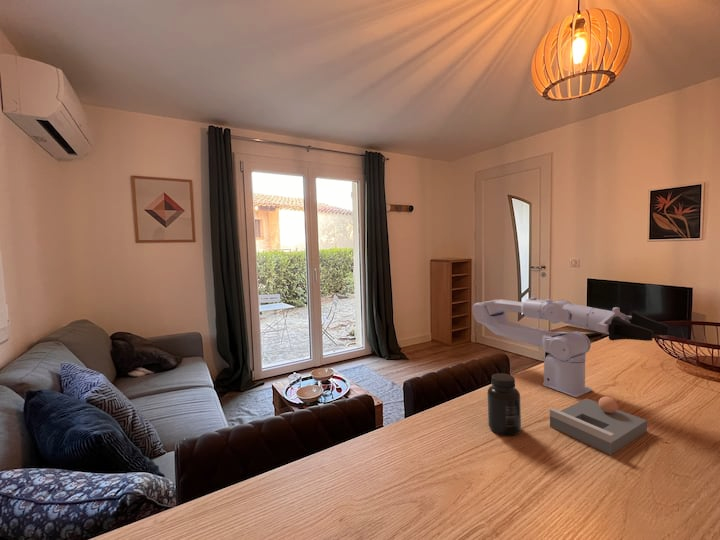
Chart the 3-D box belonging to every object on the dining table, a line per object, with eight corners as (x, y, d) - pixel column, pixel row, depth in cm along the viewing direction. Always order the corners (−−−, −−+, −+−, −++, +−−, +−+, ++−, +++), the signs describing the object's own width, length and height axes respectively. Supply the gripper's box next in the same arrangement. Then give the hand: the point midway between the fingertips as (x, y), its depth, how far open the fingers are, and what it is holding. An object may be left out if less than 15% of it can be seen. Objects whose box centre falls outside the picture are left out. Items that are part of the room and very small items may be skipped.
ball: (595, 411, 75) (595, 396, 75) (603, 406, 77) (603, 392, 76) (612, 417, 72) (613, 402, 72) (620, 413, 74) (621, 398, 73)
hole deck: (549, 426, 74) (549, 409, 74) (586, 408, 81) (586, 392, 81) (610, 455, 64) (610, 435, 63) (646, 431, 71) (647, 413, 70)
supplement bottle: (520, 423, 76) (520, 373, 75) (521, 439, 70) (520, 385, 69) (488, 418, 79) (488, 369, 78) (487, 433, 73) (486, 381, 72)
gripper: (578, 306, 81) (646, 320, 69) (610, 300, 87) (677, 311, 75) (576, 334, 81) (643, 352, 70) (607, 326, 88) (673, 341, 76)
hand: (660, 333), depth 72 cm, fingers open, 7 cm apart
